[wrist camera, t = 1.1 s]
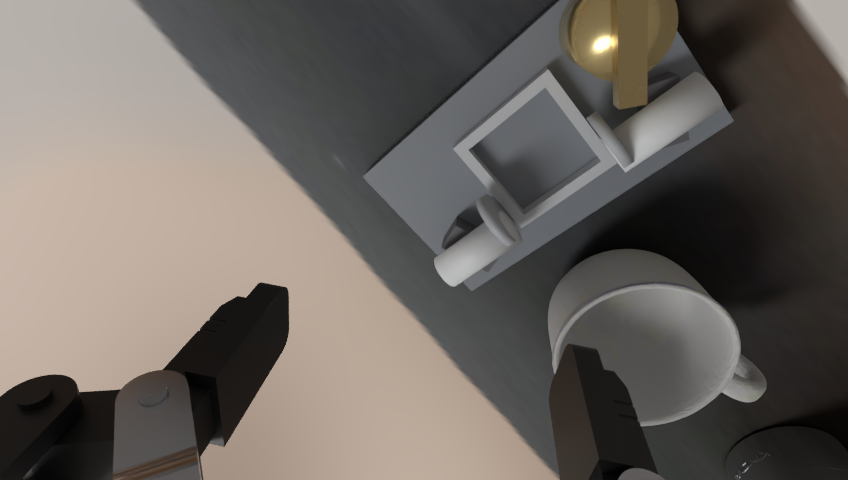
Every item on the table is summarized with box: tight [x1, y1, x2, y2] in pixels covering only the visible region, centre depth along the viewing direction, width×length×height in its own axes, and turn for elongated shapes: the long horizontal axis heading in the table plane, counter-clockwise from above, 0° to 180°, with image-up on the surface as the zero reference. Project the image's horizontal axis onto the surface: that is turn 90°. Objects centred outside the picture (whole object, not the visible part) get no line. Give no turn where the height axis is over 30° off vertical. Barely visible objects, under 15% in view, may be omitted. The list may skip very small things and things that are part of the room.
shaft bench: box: [363, 0, 734, 291], centre depth 27 cm, size 20×12×6 cm, turn 132°
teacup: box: [548, 249, 767, 426], centre depth 31 cm, size 14×11×8 cm
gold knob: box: [558, 0, 678, 110], centre depth 22 cm, size 6×4×7 cm
